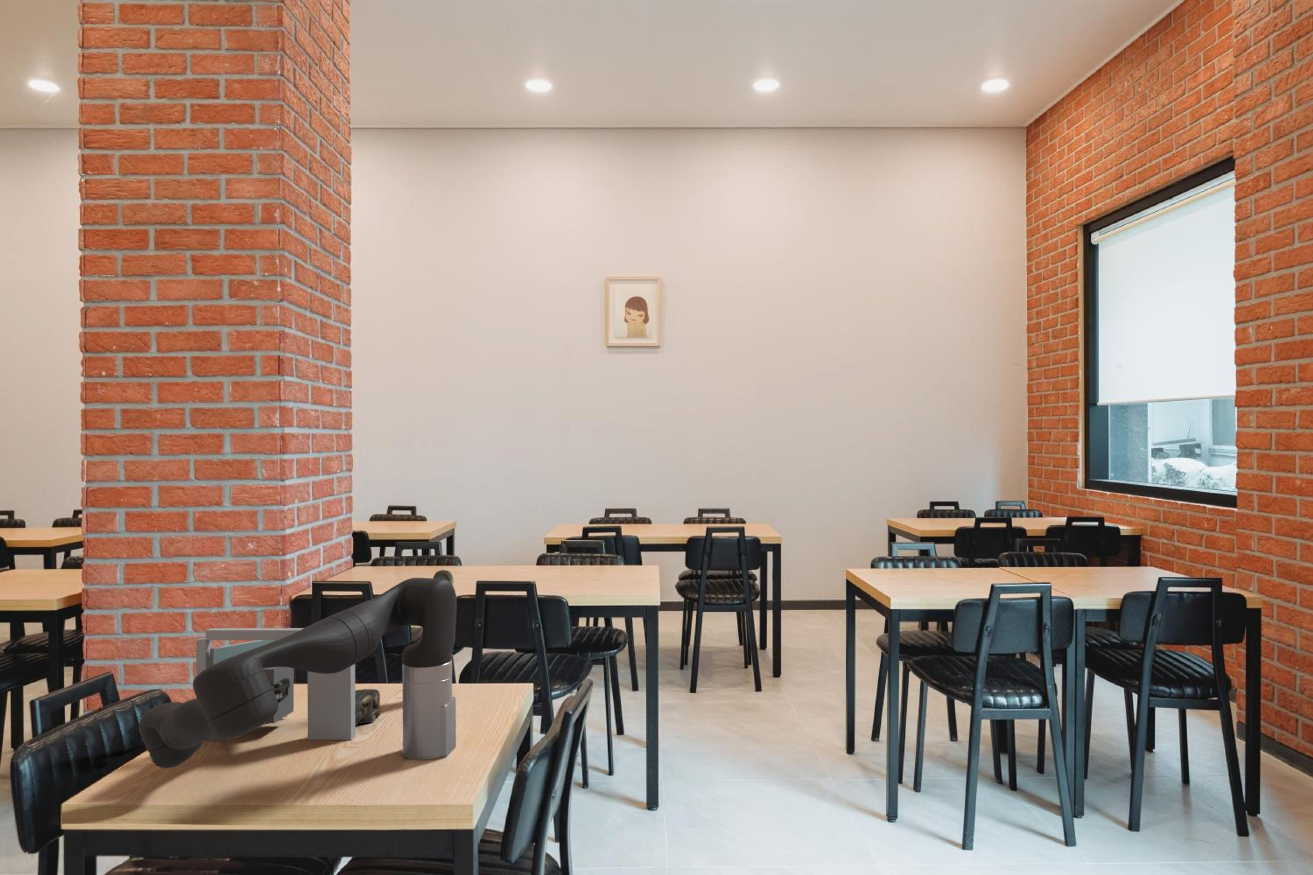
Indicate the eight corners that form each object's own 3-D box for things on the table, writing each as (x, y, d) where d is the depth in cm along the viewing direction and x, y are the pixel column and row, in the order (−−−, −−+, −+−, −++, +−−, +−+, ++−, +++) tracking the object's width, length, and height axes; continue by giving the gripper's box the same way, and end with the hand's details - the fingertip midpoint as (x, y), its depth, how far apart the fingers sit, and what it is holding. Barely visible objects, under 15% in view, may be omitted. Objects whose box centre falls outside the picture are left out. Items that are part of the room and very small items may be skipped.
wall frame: (355, 736, 164) (354, 628, 165) (350, 739, 162) (350, 630, 163) (202, 734, 167) (202, 628, 167) (196, 738, 165) (196, 630, 165)
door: (281, 714, 178) (281, 634, 178) (287, 716, 177) (286, 635, 177) (206, 733, 166) (206, 647, 166) (211, 735, 164) (211, 649, 165)
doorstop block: (293, 711, 173) (293, 659, 173) (273, 723, 165) (273, 669, 165) (268, 710, 173) (268, 659, 174) (247, 722, 165) (248, 669, 166)
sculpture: (359, 735, 165) (359, 701, 165) (328, 735, 165) (328, 701, 166) (383, 715, 178) (383, 684, 179) (354, 715, 178) (354, 684, 179)
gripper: (189, 725, 154) (240, 700, 171) (262, 726, 153) (306, 700, 170) (189, 686, 154) (240, 664, 171) (262, 686, 153) (306, 665, 170)
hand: (273, 682), depth 170 cm, fingers closed on doorstop block, 5 cm apart
